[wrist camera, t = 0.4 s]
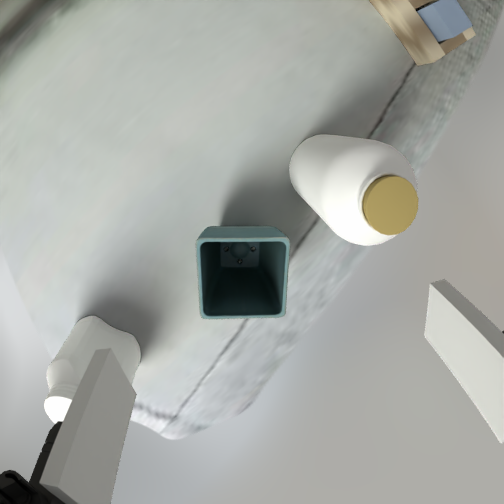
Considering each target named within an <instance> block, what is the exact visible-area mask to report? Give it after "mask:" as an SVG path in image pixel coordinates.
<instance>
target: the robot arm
mask: <svg viewBox="0 0 504 504" xmlns="http://www.w3.org/2000/svg"><path fill="white" fill-rule="evenodd" d="M424 337H425V338H426V339H427V340H428V342H429V343H430V344H431V345H432V347H433V348H434V350H435V351H436V352H437V353H438V355H439V356H440V357H441V359H442V360H443V361H444V363H445V364H446V365H447V367H448V368H449V369H450V371H451V372H452V373H453V375H454V376H455V377H456V379H457V380H458V381H459V383H460V384H461V386H462V387H463V389H464V390H465V391H466V393H467V394H468V396H469V397H470V398H471V400H472V401H473V403H474V404H475V406H476V407H477V408H478V410H479V411H480V413H481V414H482V416H483V417H484V419H485V420H486V422H487V423H488V425H489V426H490V428H491V429H492V431H493V432H494V434H495V435H496V437H497V439H498V440H499V442H500V443H501V444H502V443H503V442H504V331H502V332H501V331H500V330H499V329H498V328H497V327H496V326H495V325H494V324H493V323H492V322H491V321H490V320H489V319H488V318H487V317H486V316H485V315H484V314H483V313H482V312H481V311H479V310H478V309H477V308H476V307H475V306H474V305H473V304H472V303H471V302H470V301H469V300H468V299H466V298H465V297H464V296H463V295H462V294H461V293H460V292H459V291H457V290H456V289H455V288H454V287H453V286H452V285H451V284H450V283H448V282H447V281H446V280H445V279H443V280H440V281H436V282H433V283H431V284H430V289H429V300H428V309H427V318H426V327H425V333H424ZM136 395H137V394H136V392H135V391H134V389H133V387H132V385H131V384H130V382H129V380H128V378H127V377H126V375H125V373H124V371H123V370H122V368H121V366H120V364H119V362H118V360H117V358H116V357H115V355H114V353H113V351H112V349H111V348H107V349H98V350H95V352H94V355H93V357H92V359H91V361H90V363H89V365H88V367H87V369H86V371H85V373H84V375H83V377H82V380H81V382H80V384H79V386H78V388H77V391H76V393H75V395H74V397H73V399H72V402H71V404H70V406H69V409H68V411H67V413H66V415H65V418H64V420H63V421H58V422H57V423H56V424H55V425H54V426H53V427H52V429H51V430H50V431H49V434H48V436H47V438H46V441H45V442H46V443H45V444H44V446H43V448H42V452H41V453H40V455H39V458H38V460H37V463H36V465H35V468H34V471H33V473H32V476H31V479H30V481H29V482H28V481H26V480H25V479H24V478H23V477H22V476H21V475H20V474H18V473H17V472H16V471H12V470H8V471H4V472H3V473H2V474H0V504H111V499H112V494H113V489H114V484H115V480H116V475H117V471H118V466H119V462H120V458H121V453H122V449H123V445H124V441H125V437H126V433H127V429H128V425H129V421H130V417H131V413H132V410H133V406H134V402H135V399H136Z"/></svg>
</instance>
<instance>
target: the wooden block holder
mask: <svg viewBox="0 0 504 504" xmlns="http://www.w3.org/2000/svg"><path fill="white" fill-rule="evenodd" d="M369 1H370V2H371V3H372V5H373V6H374V7H375V8H376V9H377V11H378V12H379V13H380V14H381V16H382V17H383V18H384V20H385V21H386V22H387V23H388V25H389V26H390V27H391V29H392V30H393V31H394V33H395V34H396V35H397V37H398V38H399V40H400V41H401V42H402V44H403V45H404V47H405V48H406V50H407V51H408V52H409V54H410V55H411V57H412V58H413V60H414V61H415V63H416V65H417V66H420V65H424V64H429V63H433V62H436V61H437V60H438V59H440V58H441V57H443V56H444V55H446V54H447V53H449V52H450V51H452V50H453V49H455V48H456V47H458V46H459V45H461V44H462V43H464V42H465V41H467V40H469V39H470V38H472V37H473V36H475V35H476V34H475V32H474V31H473V29H472V27H470V28H468V29H467V30H465V31H463V32H462V33H460V34H459V35H457V36H455V37H454V38H450V39H446V40H443V41H439V42H437V40H436V39H435V37H434V36H433V34H432V33H431V31H430V30H429V28H428V27H427V25H426V24H425V23H424V21H423V20H422V18H421V17H420V16H419V14H418V13H417V12H416V10H415V9H416V8H418V7H420V6H422V5H423V6H424V7H426V6H428V5H430V4H432V3H434V2H436V1H438V0H409V1H408V0H369Z"/></svg>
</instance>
